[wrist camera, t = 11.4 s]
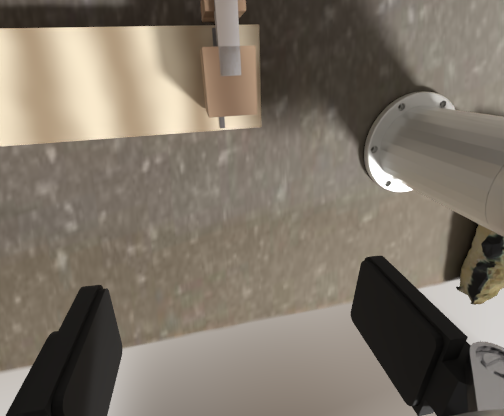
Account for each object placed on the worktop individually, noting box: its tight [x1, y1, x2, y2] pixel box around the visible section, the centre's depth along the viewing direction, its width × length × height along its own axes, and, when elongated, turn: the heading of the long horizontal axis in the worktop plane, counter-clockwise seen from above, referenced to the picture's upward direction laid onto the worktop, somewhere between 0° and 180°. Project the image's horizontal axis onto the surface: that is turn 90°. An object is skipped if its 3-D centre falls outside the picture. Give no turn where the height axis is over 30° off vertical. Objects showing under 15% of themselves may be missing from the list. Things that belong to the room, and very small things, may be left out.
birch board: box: [0, 24, 261, 146], centre depth 27 cm, size 24×9×3 cm, turn 93°
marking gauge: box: [200, 0, 257, 118], centre depth 24 cm, size 4×9×6 cm, turn 3°
